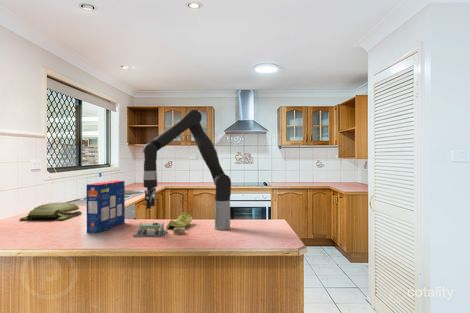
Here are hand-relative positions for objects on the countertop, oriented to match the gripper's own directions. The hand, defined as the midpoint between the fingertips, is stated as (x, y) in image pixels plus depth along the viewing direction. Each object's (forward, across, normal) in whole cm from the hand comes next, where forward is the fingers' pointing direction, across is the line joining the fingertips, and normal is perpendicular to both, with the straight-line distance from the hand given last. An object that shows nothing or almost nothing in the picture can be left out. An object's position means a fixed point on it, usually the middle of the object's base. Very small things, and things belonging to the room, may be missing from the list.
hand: (150, 207), depth 184 cm
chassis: (+15, 0, 0) cm, 15 cm away
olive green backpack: (+15, +53, +86) cm, 102 cm away
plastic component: (+16, +20, -13) cm, 29 cm away
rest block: (+15, +1, -16) cm, 22 cm away
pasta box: (+15, +17, +32) cm, 40 cm away
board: (+12, 0, 0) cm, 12 cm away
